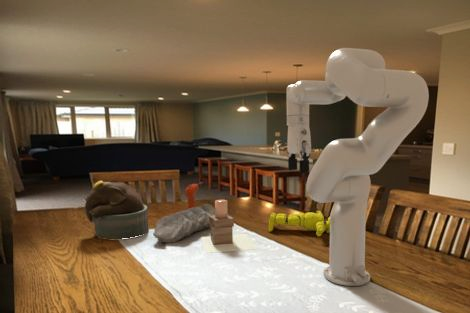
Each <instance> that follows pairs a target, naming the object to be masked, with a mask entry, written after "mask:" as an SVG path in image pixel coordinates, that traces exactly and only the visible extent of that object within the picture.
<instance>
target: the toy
mask: <svg viewBox="0 0 470 313" xmlns="http://www.w3.org/2000/svg"><path fill="white" fill-rule="evenodd" d="M268 221H269V222H268V232H269V233H270V232H273V230H274V227H275V225H281V226H288V225H289V226H291V227H293V226H294V227H297V226H300V227H303V228H304V229H305V230H307V231H316V236H317V237H321V236H322V234H324V232H326V233H327V234H330V216H329V217H328V218H327V220H326V221H325V217H324V215H323V213H322V211H320V210H316V211H315V212H310V211H309V212H305V213H304V212H300V213H292V214H289V215H288V216H287V214H286V213H281V212H280V213H276V212H271V214H270V215H269V220H268Z"/></svg>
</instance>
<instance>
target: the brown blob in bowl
mask: <svg viewBox="0 0 470 313" xmlns="http://www.w3.org/2000/svg"><path fill="white" fill-rule="evenodd" d="M84 210H85V214H86V216H87V219H88V221H89V223H94V234H95V237H96V236H98V237H100V238H106V239H122V238H130V237H135V236H139V235H143V234H144V235H146V234H148V233H147V232H149V231H150V229H149V228H150V227H149V216H148V206H147V205H146V204H145V203H144V201H143V199H142V197H141V195H139V193H138V192H137V191H136V190H135V189H134V188H133V187H132V186H130V185H128V184H126V183H124V182H111V181H103V180H98V181H97V182H95V183H94V185H92V189H91V191H89V194H88V196H87V197H86V202H85V204H84ZM145 233H146V234H145ZM144 235H143V236H144ZM98 237H97V238H98ZM139 237H140V236H139ZM100 238H99V239H100Z"/></svg>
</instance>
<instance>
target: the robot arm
mask: <svg viewBox="0 0 470 313" xmlns="http://www.w3.org/2000/svg"><path fill="white" fill-rule="evenodd" d="M346 97H347V98H348V99H349V100H351V101H352V102H353V103H354V104H356V105H359V106H361V107H370V108H373V107H374V108H377V107H378V108H386V109H385V110H384V111H382V112H381V113H379V114H378V115H377V116H376V117H374V118H373V119H372V120H371V121H370V122H369V124H368V125H367V127H366V128H365V129H364V131H363V132H362V133H361V134H360V136H357V137H354V138H353V137H352V138H338V139H335V140H332V141H331V142H329V143H328V144H327V145H326V146H325V147H324V148H323V150H322V152H321V153H320V155H319V157H318V158H317V160H316V161H315V163H314V165H313V167H312V168H311V170H310V158H311V157H310V156H311V153H312V141H311V140H312V139H311V138H312V137H311V130H310V105H331V104H335V103H338V102H340V101H342V100H344V99H345V98H346ZM429 97H430V95H429V88H428V84H427V82H426V80H425V79H424V78H423V77H422V76H421V75H419V73H415V72H413V71H409V70H403V69H402V70H401V69H387V68H386V61H385V59H384V57H383V56H382V54H380V53H379V52H377V51H375V50H373V49H366V48H365V49H364V48H353V47H341V48H339V49H336V50H334V52H332V53H331V54H330V56H329V57H328V59H327V62H326V72H325V75H324V80H309V79H308V80H307V79H305V80H303V79H302V80H298V81H297V82H296V83H294V84H290V85H288V86H287V87H286V126H288V127H287V146H286V149H287V162H288V165H287V166H288V167H287V168H288V171H296V170H298V163H299V173H301V174H303V173H309V174H308V177H307V181H306V191H307V194H308V196H309V198H311V200H313V201H314V202H317V203H321V204H322V203H323V204H324V203H325V204H326V203H334V204H333V206H332V208H331V212H330V214H329V217H330V233H329V257H328V258H329V262H328V264H329V266H327V267H325V268H324V270H323V276H324V277H325V279H326V280H328V281H329V282H331V283H334V284H335V285H336V284H337V285H340V286H346V287H347V286H348V287H351V286H352V287H357V286H358V287H360V286H363V285H367V284H368V283H369V282H370V281H371V274H370V273H369V272H368V271H366V265H365V263H366V262H365V261H366V259H365V257H366V223H367V205H368V201H369V196H370V192H371V183H372V182H371V178H370V175H371V176H372V175H374V174H376V173H378V172H379V171H380V170H381V169H382V168H383V166H384V165H385V164H386V162H387V161H388V160H389V159H390V158H391V156H392V155H393V154H394V153H395V152H396V150H397V149H398V147H400V145H401V144H402V142H403V141H404V140H405V138H407V136H408V135H409V134H410V133H411V132H412V131H413V130H414V129H415V128H416V126H417V125H418V124H419V123H420V122H421V120H422V119H423V117H424V116H425V114H426V111H427V108H428V104H429V99H430V98H429ZM297 156H299V162H298V158H297Z"/></svg>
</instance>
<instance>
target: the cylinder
mask: <svg viewBox="0 0 470 313" xmlns="http://www.w3.org/2000/svg"><path fill="white" fill-rule="evenodd" d="M214 209H215V218H218V219H224V218H227V215H228V200H227V199H216V200H214Z"/></svg>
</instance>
